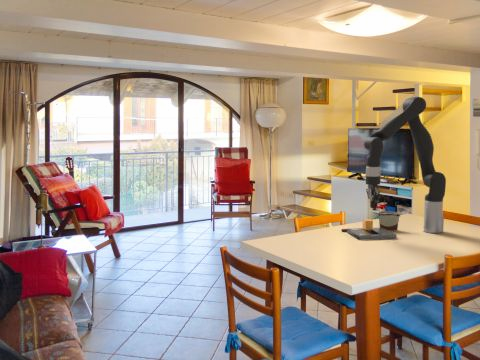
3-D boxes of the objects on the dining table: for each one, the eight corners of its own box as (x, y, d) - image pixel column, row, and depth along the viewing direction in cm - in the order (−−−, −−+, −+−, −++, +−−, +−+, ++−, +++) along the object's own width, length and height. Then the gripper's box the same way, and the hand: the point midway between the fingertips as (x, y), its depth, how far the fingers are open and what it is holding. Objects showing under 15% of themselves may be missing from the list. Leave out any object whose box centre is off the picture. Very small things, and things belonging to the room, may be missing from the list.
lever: (369, 231, 259) (369, 219, 258) (372, 232, 255) (372, 220, 254) (362, 231, 259) (362, 219, 258) (365, 232, 255) (365, 220, 254)
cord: (346, 232, 259) (346, 230, 258) (349, 232, 259) (349, 230, 259) (357, 239, 242) (357, 237, 242) (360, 239, 242) (360, 236, 242)
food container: (397, 228, 269) (397, 211, 268) (399, 230, 263) (400, 213, 262) (375, 228, 270) (375, 210, 269) (377, 230, 264) (377, 212, 263)
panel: (381, 231, 262) (382, 227, 262) (396, 238, 244) (396, 234, 244) (347, 232, 260) (347, 228, 259) (359, 239, 242) (359, 235, 242)
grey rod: (359, 230, 263) (359, 228, 263) (360, 231, 262) (360, 228, 262) (340, 231, 262) (340, 228, 262) (341, 231, 261) (341, 229, 260)
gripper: (385, 176, 242) (384, 209, 244) (374, 173, 255) (374, 205, 257) (371, 176, 241) (370, 210, 243) (361, 174, 254) (361, 206, 256)
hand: (372, 207), depth 250 cm, fingers closed
